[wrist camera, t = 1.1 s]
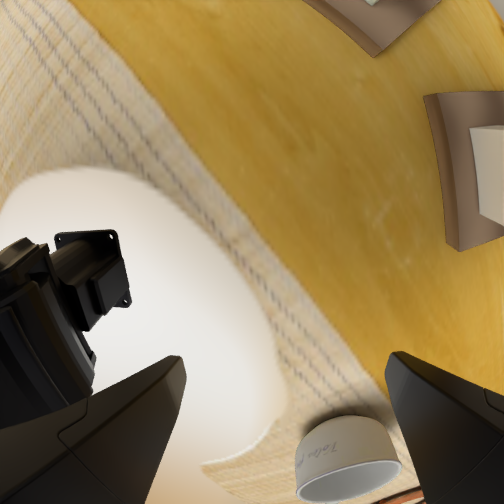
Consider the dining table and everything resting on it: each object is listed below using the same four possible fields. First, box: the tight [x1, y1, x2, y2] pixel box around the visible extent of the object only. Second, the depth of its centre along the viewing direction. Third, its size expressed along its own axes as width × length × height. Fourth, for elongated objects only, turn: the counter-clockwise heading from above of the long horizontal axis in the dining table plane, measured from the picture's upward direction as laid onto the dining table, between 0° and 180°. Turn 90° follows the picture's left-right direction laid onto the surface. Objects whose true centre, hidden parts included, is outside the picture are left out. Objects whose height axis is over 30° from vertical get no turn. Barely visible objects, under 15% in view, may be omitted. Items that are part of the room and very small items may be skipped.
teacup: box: [295, 415, 402, 504], centre depth 24 cm, size 14×11×8 cm
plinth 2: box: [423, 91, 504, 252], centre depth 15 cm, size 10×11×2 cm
